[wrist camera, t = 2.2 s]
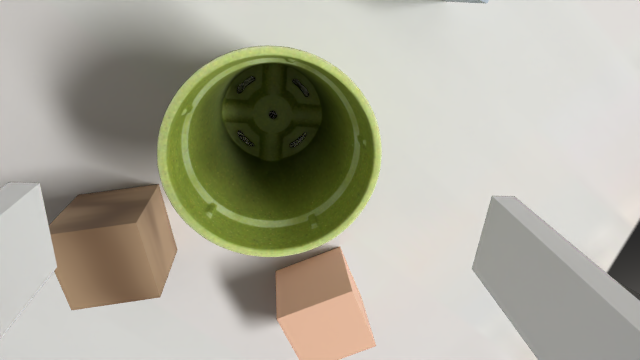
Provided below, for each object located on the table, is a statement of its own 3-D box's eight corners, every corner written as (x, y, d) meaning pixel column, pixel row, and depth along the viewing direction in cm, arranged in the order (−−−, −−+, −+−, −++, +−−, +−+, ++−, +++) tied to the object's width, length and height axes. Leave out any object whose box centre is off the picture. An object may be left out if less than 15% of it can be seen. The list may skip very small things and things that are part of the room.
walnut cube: (103, 259, 28) (71, 310, 24) (78, 194, 26) (38, 235, 22) (177, 249, 29) (160, 297, 24) (159, 183, 27) (136, 222, 22)
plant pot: (158, 110, 25) (106, 164, 17) (271, -8, 23) (272, -10, 15) (271, 207, 28) (272, 291, 20) (377, 112, 26) (424, 163, 18)
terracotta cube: (300, 318, 32) (305, 371, 28) (275, 270, 30) (276, 319, 26) (360, 296, 32) (376, 345, 28) (339, 246, 30) (352, 290, 25)
